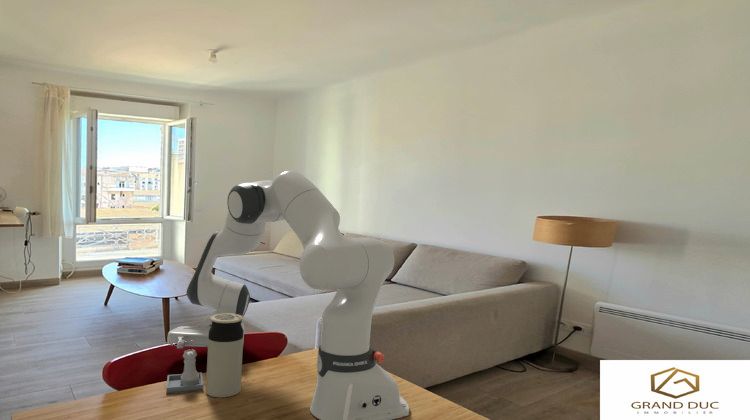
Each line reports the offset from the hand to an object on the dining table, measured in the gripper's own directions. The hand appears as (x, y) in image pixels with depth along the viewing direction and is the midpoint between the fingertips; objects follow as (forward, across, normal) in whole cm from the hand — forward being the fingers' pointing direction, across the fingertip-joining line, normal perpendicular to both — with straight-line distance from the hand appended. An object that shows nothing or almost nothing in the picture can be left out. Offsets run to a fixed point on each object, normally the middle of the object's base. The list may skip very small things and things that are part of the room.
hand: (197, 346), depth 126 cm
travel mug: (+12, +10, +7) cm, 17 cm away
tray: (+9, 0, +7) cm, 12 cm away
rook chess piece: (+9, +1, +6) cm, 11 cm away
